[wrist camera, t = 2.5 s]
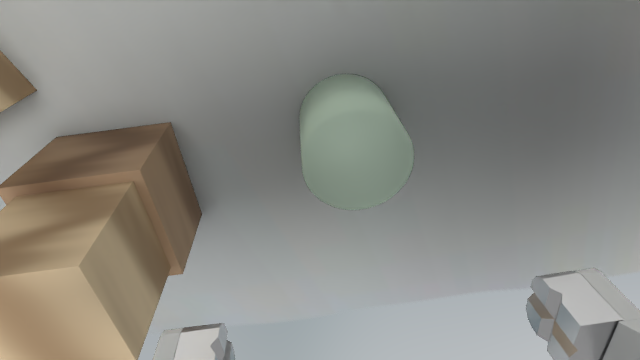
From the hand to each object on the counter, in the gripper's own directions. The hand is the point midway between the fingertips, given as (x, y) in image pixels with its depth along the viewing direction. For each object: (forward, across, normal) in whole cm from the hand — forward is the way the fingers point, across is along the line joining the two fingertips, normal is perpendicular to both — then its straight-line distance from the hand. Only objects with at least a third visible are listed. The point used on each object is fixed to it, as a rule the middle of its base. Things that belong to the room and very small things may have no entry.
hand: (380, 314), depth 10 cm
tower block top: (+8, +11, +2) cm, 14 cm away
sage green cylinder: (+12, -1, 0) cm, 13 cm away
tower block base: (+13, +11, +2) cm, 17 cm away
